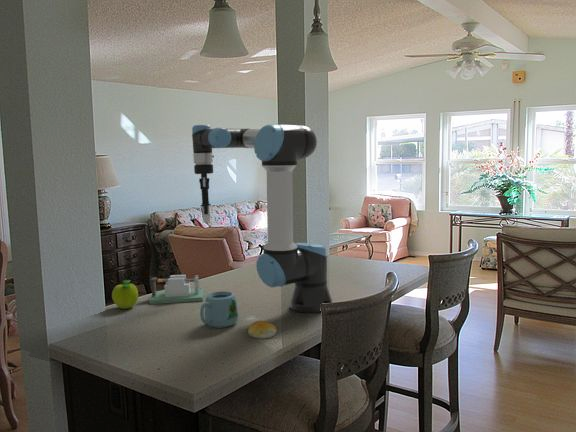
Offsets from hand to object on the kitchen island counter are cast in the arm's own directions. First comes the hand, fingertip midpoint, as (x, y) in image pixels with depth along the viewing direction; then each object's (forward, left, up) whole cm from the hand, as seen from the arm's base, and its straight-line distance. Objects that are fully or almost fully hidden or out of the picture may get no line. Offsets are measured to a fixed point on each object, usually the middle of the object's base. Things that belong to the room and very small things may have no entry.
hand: (206, 222), depth 211 cm
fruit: (-19, +30, -29) cm, 46 cm away
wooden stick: (-9, +12, -22) cm, 27 cm away
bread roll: (-57, -19, -29) cm, 66 cm away
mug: (-46, -5, -29) cm, 55 cm away
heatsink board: (-9, +12, -29) cm, 32 cm away
